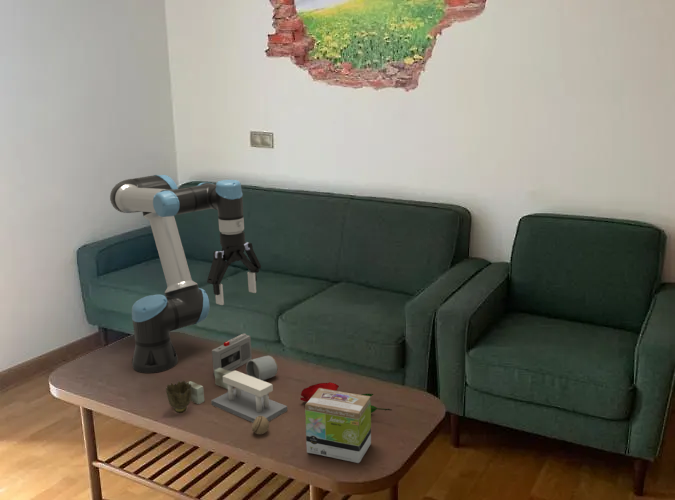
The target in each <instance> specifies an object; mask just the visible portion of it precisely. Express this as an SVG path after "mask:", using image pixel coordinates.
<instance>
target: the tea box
mask: <svg viewBox="0 0 675 500" xmlns="http://www.w3.org/2000/svg"><path fill="white" fill-rule="evenodd" d="M371 400H372V396H364V395H361V394H357V393H354V392H353V393H351V392H346V391H340V390H337V391H334V390H329V389H322V388H319V389H318V390H317V391H316V392H315V394H314V395H313V396H312V397H311V398H310V400H309V401H308V402H305V404H304V413H305V414H304V416H305V442H306V443H305V444H306V453H307V454H314V455H318V456H324V457H328V458H333V459H338V460H343V461H346V462H351V463H356V464H359V463H360V462H361V461H362V459H363V458H364V456H365V454H366V453H367V451H368V449H369V447H370V446H371V444H372V413H371V405H372V403H371V402H372V401H371Z"/></svg>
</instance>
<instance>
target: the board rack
mask: <svg viewBox="0 0 675 500" xmlns="http://www.w3.org/2000/svg"><path fill="white" fill-rule="evenodd" d="M214 372H215V375H214V380H215V381H214V382H215V385H216V386H218V387H221V388H223V389H226V390H228V385H227V384H226V383H224V382H223V376H224V375H226V374H228V373H230V372H231V371H228V370H225V369H223V368H218V369H216V370H214ZM214 372H213V373H214ZM188 382H189V384H190V383H191V401H190V402H192V403H194V404H197V405H200V404H202V403H204V402H205V391H204V386H203V385H201V384H198V383H196V382H194V381H191V380H190V381H187V382H186V383H188ZM233 388H235V387H234V386H233Z"/></svg>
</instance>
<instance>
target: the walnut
mask: <svg viewBox="0 0 675 500" xmlns="http://www.w3.org/2000/svg"><path fill="white" fill-rule="evenodd" d="M269 422H270V421H269ZM269 422H268V420H267V418H265V417H264V416H258V417H256V419H255V420H254V422H253V423H252V425H251V430H252V432H253V433H254V434H257V435H264V434H265V433H266V432H267V431H268V430H269V427H270V423H269Z"/></svg>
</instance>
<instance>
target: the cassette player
mask: <svg viewBox="0 0 675 500" xmlns="http://www.w3.org/2000/svg"><path fill="white" fill-rule="evenodd" d="M211 356H212V370H213V376H215V372H214V370H216V369H218V368H223V369H225V370H228V371H230V372H232V371H234V370H236V369H238V368H240V367H242V366H244V365H246V364H247V362H248V361H249V360H252V359H253V356H252V339H251V335H247V334H246V333H242V334H239V335H238V336H235V337H233V338H231V339H229V340H227V341H225V342H223V344H221V345H219V346H218V347H216V348H213V349H211Z"/></svg>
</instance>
